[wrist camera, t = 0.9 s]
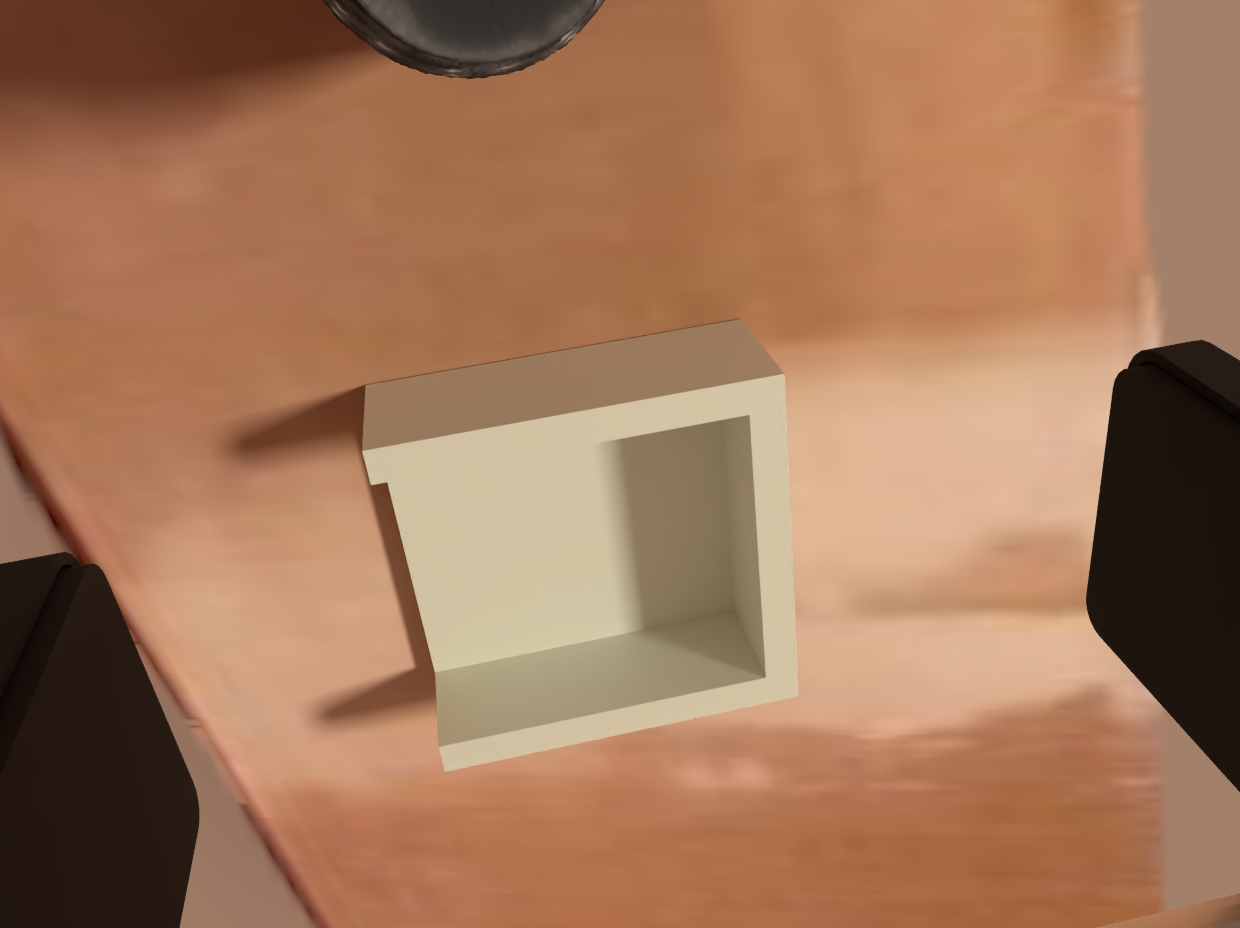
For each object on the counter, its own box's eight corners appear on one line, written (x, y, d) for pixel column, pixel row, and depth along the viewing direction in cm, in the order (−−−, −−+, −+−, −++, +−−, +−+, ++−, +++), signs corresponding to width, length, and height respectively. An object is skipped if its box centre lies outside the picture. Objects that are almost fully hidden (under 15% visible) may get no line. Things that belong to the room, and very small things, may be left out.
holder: (365, 385, 31) (362, 451, 28) (741, 318, 32) (784, 374, 29) (440, 684, 37) (445, 772, 33) (760, 618, 38) (798, 696, 34)
